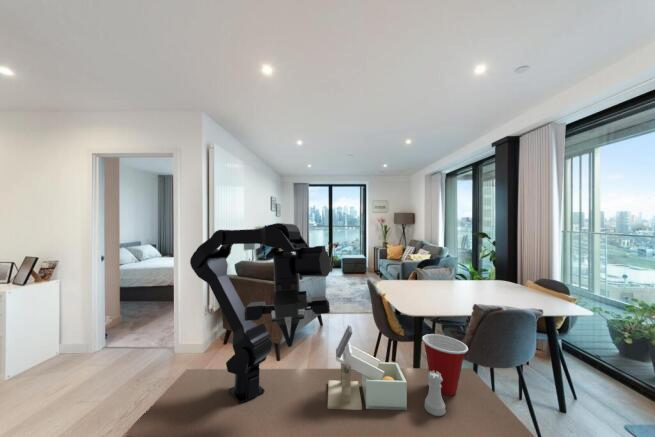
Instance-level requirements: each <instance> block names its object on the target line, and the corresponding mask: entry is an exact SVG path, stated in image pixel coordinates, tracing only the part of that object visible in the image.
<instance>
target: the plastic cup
mask: <svg viewBox="0 0 655 437" xmlns="http://www.w3.org/2000/svg"><path fill="white" fill-rule="evenodd" d="M421 338H422V342H423V344H424V349H425V350H424V351H425V354H426V355H425V356H426V361H427V367H428V368H427V370H428V372H429V371H431V373H432V371H434V373H436V372H439V373H440V374H441V377H442V379H443V381H442V382H441V383H440V384H441V386H442V387H441V395H442V396H443V395H444V396H453V395H455V394H457V391H458V387H459V386H458V385H459V380H460V378H461V372H462V366H463V361H464V358H465V356H466V353H467V352H468V351H469V348H468V345H466V344H465V343H464V342H462V341H460V340H458V339H456V338H454V337H450V336H448V335H442V334H439V333H438V334H437V333H430V334H429V333H427V334H425V335H423V336H422V337H421Z"/></svg>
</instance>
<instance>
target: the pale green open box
mask: <svg viewBox="0 0 655 437" xmlns="http://www.w3.org/2000/svg"><path fill="white" fill-rule="evenodd" d="M377 368H379V369H381V370H382V371H384V374H383V377H382V378H384V377H386V376H389V377H392V378H393V379H394V380H382V379H381V380H373V379H371V378H369V377H367V376H365V375H363V374H361V387H362V394H363V399H364V403H365V404H364V405H365V409H367V410H368V409H370V410H398V411H407V408H408V407H407V404H408V403H407V400H408V399H407V398H408V397H407V396H408V394H407V393H408V391H407V388H408V387H407V384H408V382H407V380H406V378H405V376H404V374H403V372H402V369H401V368H400V366H399V364H398V362H383V361H382V362H381V361H380V363H379V365H378V367H377Z"/></svg>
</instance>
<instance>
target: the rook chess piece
mask: <svg viewBox="0 0 655 437" xmlns="http://www.w3.org/2000/svg"><path fill="white" fill-rule="evenodd" d="M426 378H427V379H428V384H427V385H428V394H427V395H426V398H425V399H424V408H425V410H426V412H427V413H428V414H430V415H431V416H435V417H441V416H444V415H445V413H446V404H445V402H444V399H443V398H442V396H443V395H442V394H441V387H442V386H441V384H440V383H441V382H442V381H443V379H442V377H441V374H440V373H439V372H436V373H434V371H432V373H431V371H429V370H428V374H427V376H426Z"/></svg>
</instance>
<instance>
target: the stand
mask: <svg viewBox="0 0 655 437" xmlns="http://www.w3.org/2000/svg"><path fill="white" fill-rule="evenodd" d="M344 350H345V349H344ZM351 376H352V368H351V366H350V365H344V364H342V363H340V380H335V379H334V380H331V379H328V384H327V385H328V388H327V391H328V392H327V409H328V410H329V409H330V410H353V411H357V410H358V411H362V410H363V404H362V400H361V393H360V385H359V381H358V380H356V381H355V380H352V378H351Z"/></svg>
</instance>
